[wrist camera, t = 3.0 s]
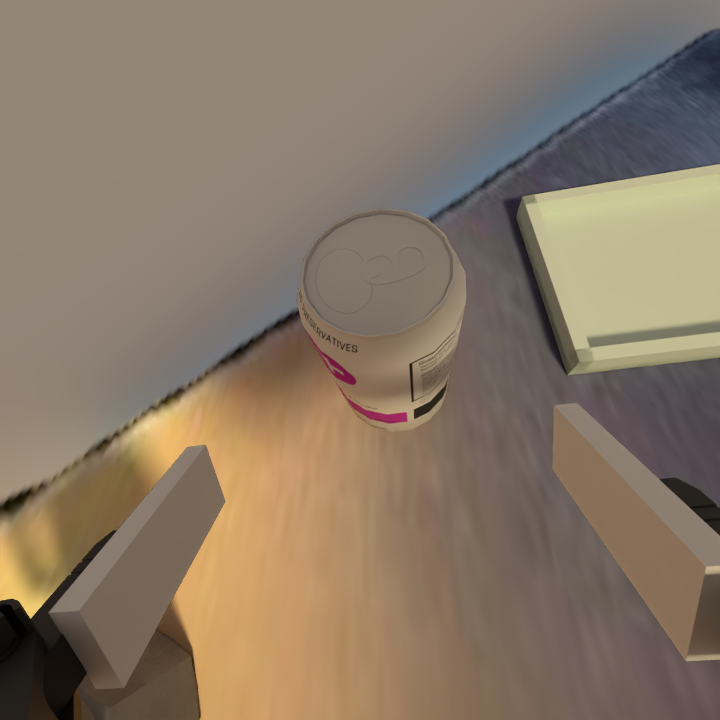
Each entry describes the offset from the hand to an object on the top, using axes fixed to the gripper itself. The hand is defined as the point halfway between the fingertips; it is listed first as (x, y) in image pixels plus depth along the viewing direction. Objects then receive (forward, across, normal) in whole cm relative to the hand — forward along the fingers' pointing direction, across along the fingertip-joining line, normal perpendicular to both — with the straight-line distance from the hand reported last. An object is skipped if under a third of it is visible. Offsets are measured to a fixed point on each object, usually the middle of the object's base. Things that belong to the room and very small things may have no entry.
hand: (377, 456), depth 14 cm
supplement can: (+16, +1, -4) cm, 16 cm away
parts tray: (+20, +24, +1) cm, 31 cm away
